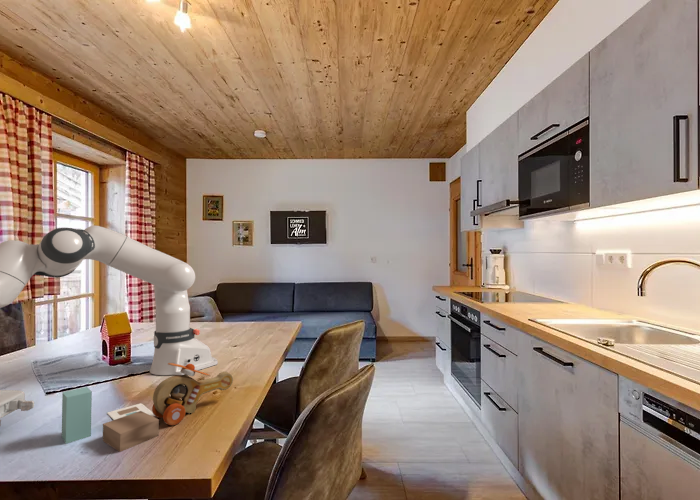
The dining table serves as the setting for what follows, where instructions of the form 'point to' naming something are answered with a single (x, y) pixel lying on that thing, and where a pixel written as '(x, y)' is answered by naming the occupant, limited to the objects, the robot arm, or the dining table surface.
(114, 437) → the walnut base block
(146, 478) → the dining table surface
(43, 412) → the dining table surface
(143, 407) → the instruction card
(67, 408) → the teal tall block
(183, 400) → the toy helicopter
